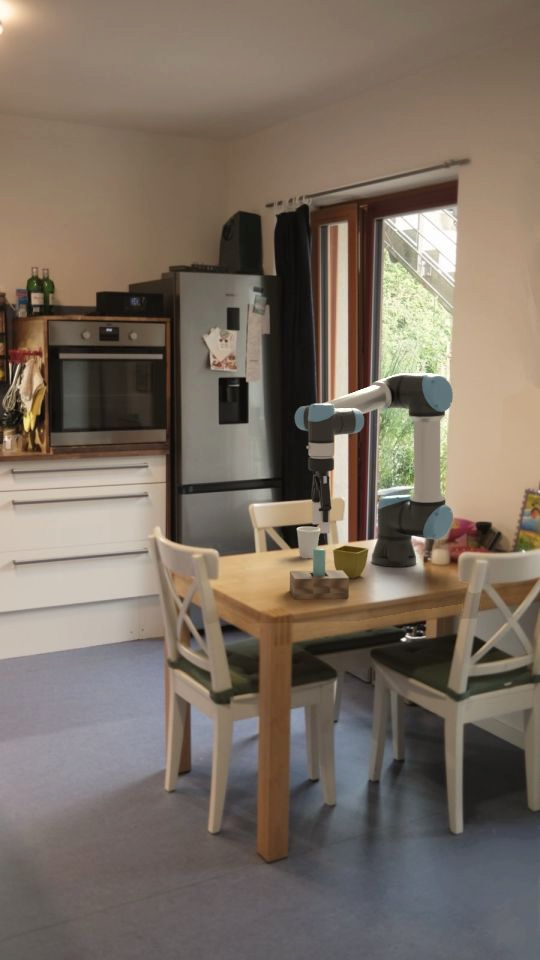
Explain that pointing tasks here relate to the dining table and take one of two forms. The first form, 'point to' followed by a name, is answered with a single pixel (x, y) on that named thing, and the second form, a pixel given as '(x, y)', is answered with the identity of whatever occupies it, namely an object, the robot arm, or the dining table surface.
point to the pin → (319, 562)
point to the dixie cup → (307, 540)
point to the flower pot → (350, 560)
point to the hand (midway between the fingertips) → (320, 528)
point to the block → (319, 585)
